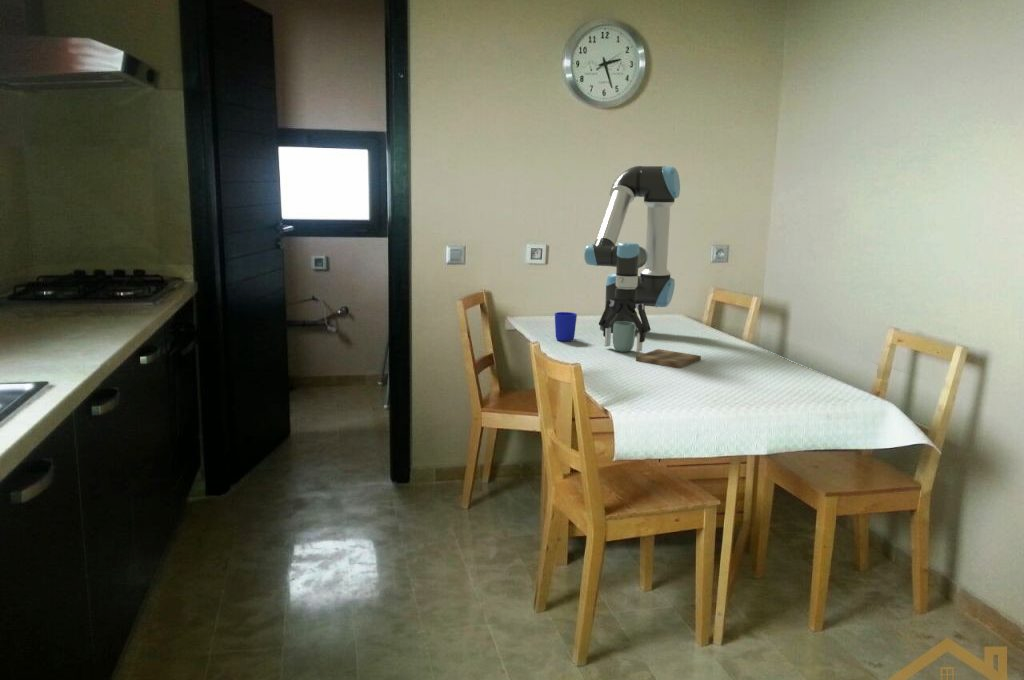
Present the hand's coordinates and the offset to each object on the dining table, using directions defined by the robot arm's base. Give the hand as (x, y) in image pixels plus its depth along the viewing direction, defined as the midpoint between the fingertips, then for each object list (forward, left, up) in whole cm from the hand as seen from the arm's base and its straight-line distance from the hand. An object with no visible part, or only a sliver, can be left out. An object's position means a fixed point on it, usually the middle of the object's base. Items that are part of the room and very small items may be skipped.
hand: (623, 348), depth 282 cm
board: (+19, -3, -1) cm, 19 cm away
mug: (-27, +4, -1) cm, 27 cm away
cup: (0, 0, -1) cm, 1 cm away
